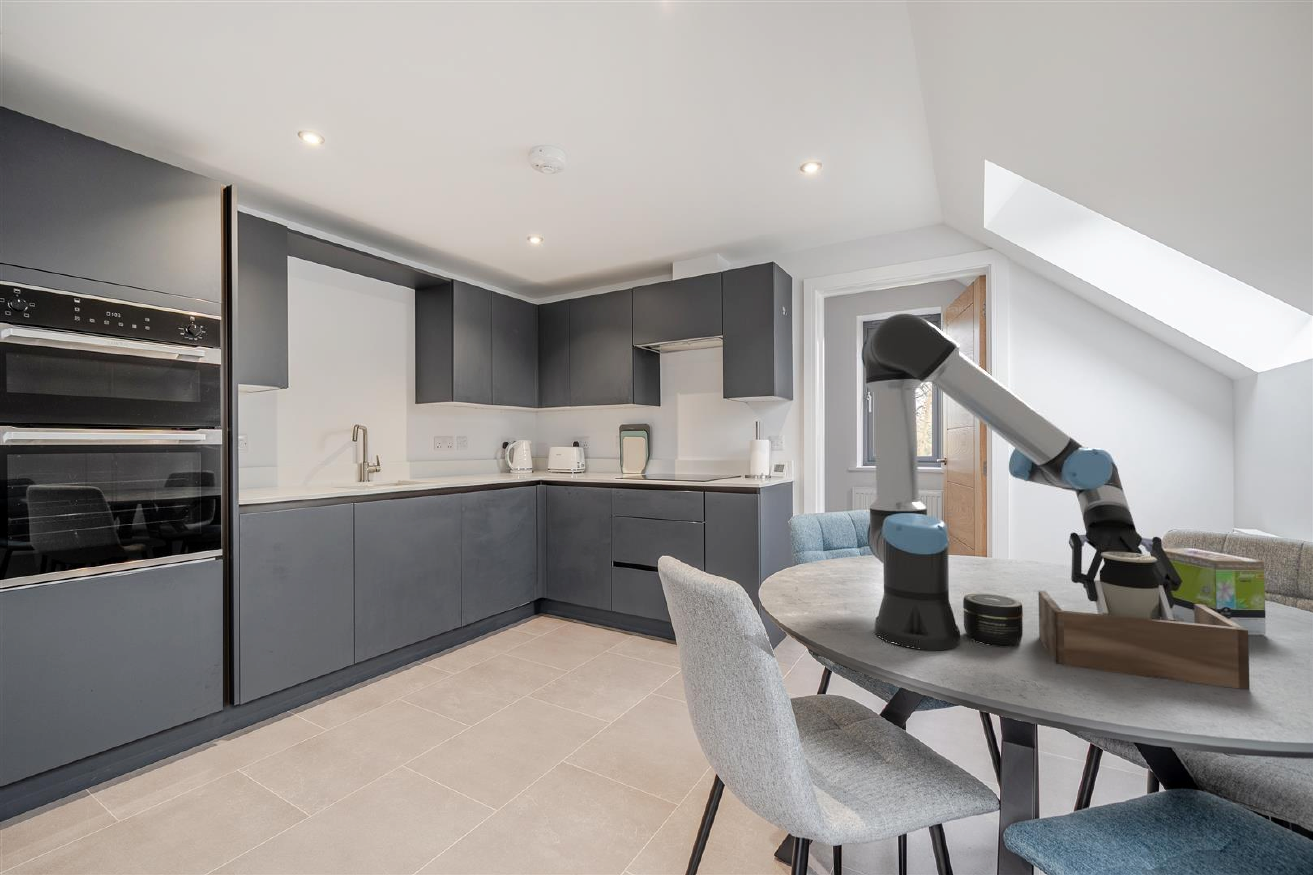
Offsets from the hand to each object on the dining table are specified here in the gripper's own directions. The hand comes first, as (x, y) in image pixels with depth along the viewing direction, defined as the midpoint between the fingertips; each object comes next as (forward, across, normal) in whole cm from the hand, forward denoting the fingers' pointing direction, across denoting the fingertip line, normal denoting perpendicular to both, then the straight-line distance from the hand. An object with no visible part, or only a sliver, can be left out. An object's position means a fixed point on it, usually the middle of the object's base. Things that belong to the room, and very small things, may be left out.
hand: (1135, 620), depth 95 cm
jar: (+2, +20, -10) cm, 23 cm away
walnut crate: (+3, 0, -8) cm, 8 cm away
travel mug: (+3, 0, -8) cm, 8 cm away
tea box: (-18, -20, -30) cm, 40 cm away
